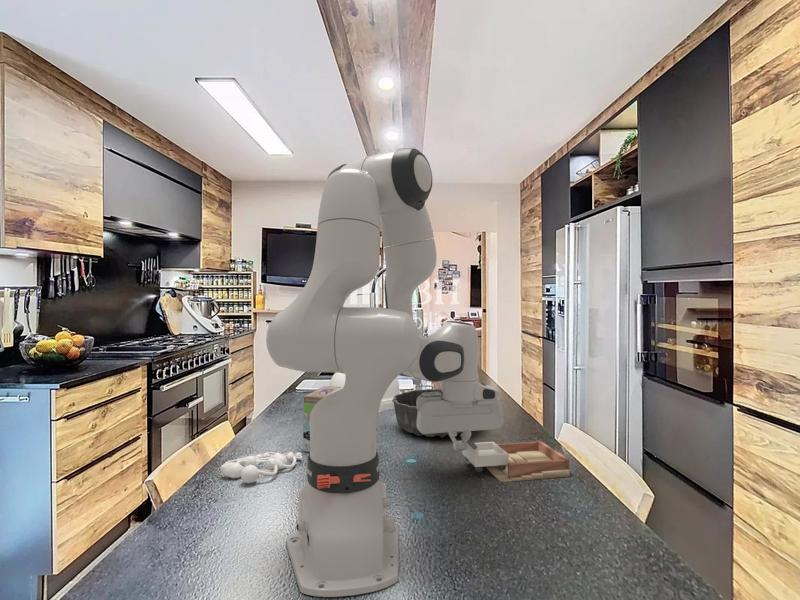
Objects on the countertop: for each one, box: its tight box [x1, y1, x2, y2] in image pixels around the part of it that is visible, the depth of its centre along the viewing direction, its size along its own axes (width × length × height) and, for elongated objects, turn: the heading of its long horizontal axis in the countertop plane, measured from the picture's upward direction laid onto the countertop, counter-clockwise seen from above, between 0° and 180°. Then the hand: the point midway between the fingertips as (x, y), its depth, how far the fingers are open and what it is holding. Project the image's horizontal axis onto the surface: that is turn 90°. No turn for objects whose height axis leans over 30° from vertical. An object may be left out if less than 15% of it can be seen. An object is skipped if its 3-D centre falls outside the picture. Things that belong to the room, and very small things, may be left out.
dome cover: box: [328, 373, 403, 413], centre depth 177 cm, size 32×30×14 cm
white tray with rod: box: [459, 433, 509, 473], centre depth 110 cm, size 9×8×6 cm
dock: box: [484, 439, 571, 483], centre depth 112 cm, size 16×17×4 cm
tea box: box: [302, 385, 344, 453], centre depth 128 cm, size 15×10×15 cm, turn 168°
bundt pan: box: [392, 388, 464, 439], centre depth 142 cm, size 26×26×10 cm
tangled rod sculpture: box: [220, 451, 303, 484], centre depth 111 cm, size 19×14×4 cm
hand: (459, 449), depth 109 cm, fingers closed
